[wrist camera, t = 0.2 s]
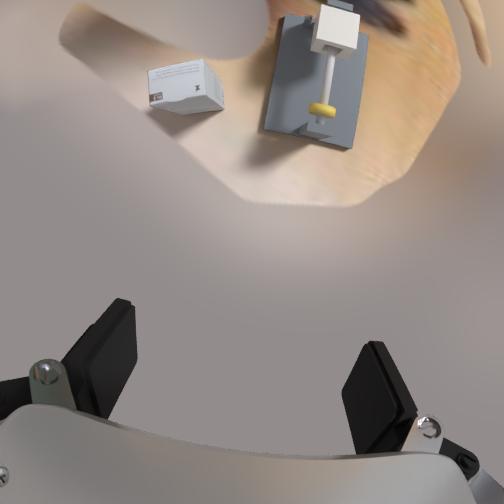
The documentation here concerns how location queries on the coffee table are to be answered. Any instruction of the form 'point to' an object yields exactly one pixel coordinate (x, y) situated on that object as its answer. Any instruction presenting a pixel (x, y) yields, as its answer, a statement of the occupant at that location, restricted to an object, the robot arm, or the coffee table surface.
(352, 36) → the sleeve
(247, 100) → the coffee table surface
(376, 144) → the coffee table surface
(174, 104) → the skincare box
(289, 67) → the slide rail
